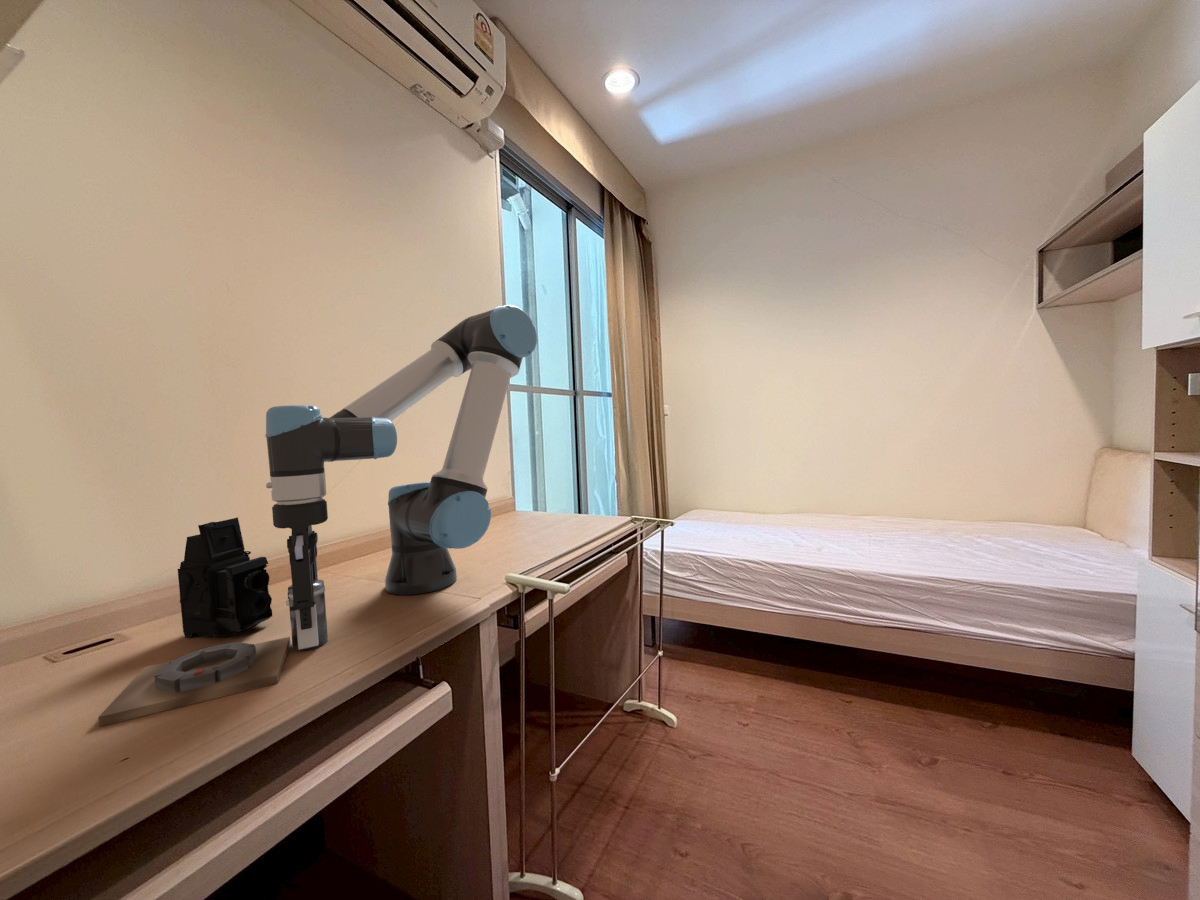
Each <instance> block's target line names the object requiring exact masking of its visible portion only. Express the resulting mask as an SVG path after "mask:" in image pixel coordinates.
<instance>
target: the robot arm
mask: <svg viewBox="0 0 1200 900" xmlns="http://www.w3.org/2000/svg"><path fill="white" fill-rule="evenodd" d="M537 337H538V336H537V331H536V327H535V326H534V323H533V320H532V319H531V317H530V316H529V314H527V312H526V311H524V309H521V307H518V306H515V305H513V304H512V305H511V304H508V305H507V304H506V305H499V306H495V307H494V308H493V309H490V310H487V311H485V312H481V313H478V314H475V315H472V316H469V317H466V318H464V319H463V320H462V321H460V322H459V323H458V324H456V325H455V326H454V327H452V328H451V329H449V330H448V331H446V333H445V334H443V335H442V336H441V337H439V338H438V339H436V340H435V341H433V342H432V343H431V344H430V350H428V351H426V352H425V353H424V354H422V355H421V356H419V357H417V358H416V359H415V360H413V361H412V362H410V363H409V364H407V365H406V366H404V367H403V368H401V369H400V370H398V371H396V373H393V374H392V375H391V376H389V377H388V378H386V379H385V380H384V381H381V382H380V383H379V384H377V385H376V386H375V387H373V388H372V389H370V390H368V391H367V392H365V393H364V394H363V395H361V396H360V397H358V398H357V399H355V400H354V401H352V402H351V403H350V404H348V405H346V406H344V407H343V408H342V409H341V410H339V411H337V412H336V413H334V414H333V415H330V417H323V416H322V415H323V414H321V410H320V408H319V407H318V406H315V405H305V404H303V405H302V404H301V405H300V404H298V405H277V406H276V405H275V406H271V407H270V408H268V409H267V411H266V414H265V434H264V435H265V436H264V437H265V439H266V445H267V454H268V466H269V467H268V468H269V479H270V482H266V484H265V487H266V489H271V491H270V493H271V500H272V502H276V503H275V504H273V506H271V509H272V510H271V511H272V524H273V527H274V528H276V529H291V535H289V536H288V538H287V539H286V548H287V552H288V553H289V565H290V574H291V576H290V577H291V585H292V590H293V607H290V609H289V612H290V611H294V610H295V611H296V624H297V637H298V650H300V649H304V648H309V647H313V646H318V645H319V641H318V627H317V614H316V604H315V601H314V590H313V580H319V577H318V567H317V557H318V546H317V544H318V540H319V539H318V537H319V536H318V532H315V531H316V530H313V526H316V525H320V524H323V523H325V522H327V521H328V519H329V518H328V517H329V514H328V513H329V512H328V503H327V500H326V499H324V497H325V496H326V495H327V483H326V471H325V470H326V469H325V462H327V463H328V462H329V463H331V462H332V463H333V462H339V461H340V462H342V461H357V460H358V461H359V460H372V459H373V460H377V459H381V458H388V457H390V456H392V455H393V454H394V453H395V451H396V450H397V449H396V448H397V445H398V433H397V429H396V427H395V424H394V423H393V421H394V420H395V419H396V418H398V417H399V416H400V415H402V414H404V412H406V411H407V410H409V409H410V408H411V407H413V406H414V405H415V404H417V403H418V402H419V401H421V400H422V399H423V398H425V397H426V396H427V395H429V394H430V393H432V392H433V391H434V390H435V389H437V388H438V387H439V386H441V385H442V384H444V383H445V382H446V381H447V380H449V379H450V378H452V377H453V378H458V377H460V376H462V375H463V374H464V373H466V372H468V371H470V372H469V377H468V380H467V383H466V386H465V389H464V393H463V397H462V400H461V404H460V407H459V410H458V413H457V417H456V421H455V424H454V426H453V430H452V433H451V434H452V435H451V438H450V441H449V444H448V447H447V451H446V455H445V458H444V461H443V465H442V468H441V470H438V472H436V473H434V474H432V476H431V479H430V481H424V482H423V481H422V482H416V483H415V482H414V483H410V484H401V485H395V486H393V487H391V488H390V489H389V490H388V496H387V497H388V501H387V506H388V513H389V514H388V515H389V518H388V519H389V529H390V543H391V556H390V561H389V564H388V568H387V571H386V575H385V580H384V585H385V586H384V587H385V591H386V593H389V594H393V595H397V596H398V595H400V596H401V595H402V596H404V595H405V596H408V595H420V594H425V593H430V592H434V591H438V590H439V591H440V590H441V589H444V588H446V587H448V586H451V585H453V584H454V583H455V582H456V581H457V578H458V577H457V568H456V565H455V563H454V561H453V558H452V557H451V553H450V551H449V549H460V550H461V549H466V548H470V547H471V546H473V545H475V544H476V543H477V542H479V541H480V540H481V539H482V538H483V537H484V536H485V534H486V532H487V531H488V529H489V526H490V523H491V519H492V510H491V507H490V506H489V505H490V504H489V501H488V500H487V498H486V496H487V493H488V487H487V485H486V483H485V482H484V476H485V472H486V469H487V464H488V463H489V462H488V461H489V458H490V454H491V451H492V446H493V442H494V439H495V435H496V431H497V429H498V424H499V421H500V420H499V419H500V416H501V413H502V409H503V404H504V402H505V398H506V394H507V390H508V387H509V383H510V379H511V378H513V377H515V376H517V375H518V374H519V372H520V370H521V365H522V360H523V358H526V357H528V356H530V355H531V354H532V353H533V352H534V351H535V349H536V347H537V342H538V340H537V339H538V338H537ZM314 604H315V605H314Z"/></svg>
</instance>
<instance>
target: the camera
mask: <svg viewBox="0 0 1200 900" xmlns="http://www.w3.org/2000/svg"><path fill="white" fill-rule="evenodd" d="M197 526H198V527H197V528H198V530H199V534H195V535H190V536H186V542H185V547H184V548H185V551H184V556H183V557H184V558H183V559H184V560H182V561H181V562H180V565H179V568H177V576H178V577H177V578H178V586H179V587H178V589H179V603H180V610H181V611H180V612H181V622H182V623H181V624H182V633H183V634H184V637H185V638H186V639H188V638H192V637H194V636H202V637H203V636H206V637H224V638H225V637H226V638H229V637H230V636H233V635H235V634H237V633H239V632H242V631H244V630H245V631H246V630H248V629H250V628H252V627H254V626H256V625H258V624H259V625H260V624H261V623H263V622H265V621H268V620H269V619H271V618H273V609H272V605H271V604H272V599H273V598H272V596H271V594H270V593H269V592H270V591H269V583H270V575H269V572H268V571H267V569H266V568H267V567H268V564H269V562H268V559H267V557H266V556H259V557H257V558H253V559H251V558H250V554H252V552H251V550H249V551H247V550H245V544H244V539H243V535H242V531H241V530H242V529H241V525H240V521H239V517H234V518H230V519H224V520H219V521H211V522H208V523H203V524H198V525H197Z"/></svg>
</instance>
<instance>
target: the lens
mask: <svg viewBox="0 0 1200 900" xmlns="http://www.w3.org/2000/svg"><path fill="white" fill-rule="evenodd" d="M313 590H314V601H315V604H316V614H317V627H318V641H319V645H318V646H313V647H309V648H304V649H300V650H298V637H297V624H296V611H295V610H294V611H290V607H293V590H292V584H291V585H289V586H288V587H287V599H286V600H285V607H289V619H290V621H289V622H290V633H291V634H290V635H291V646H292V650H293V651H294V652H306V651H310V650H314V649H317V648H319V647H322V646H324V645H325V644H327V643H328V641H329V634H328V623H327V607H326V595H325V594H326V593H325V592H326V586H325V581H324V580H323V579H318V580H313ZM315 604H314V605H315Z"/></svg>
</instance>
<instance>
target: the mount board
mask: <svg viewBox="0 0 1200 900" xmlns="http://www.w3.org/2000/svg"><path fill="white" fill-rule="evenodd" d="M290 647H291V637H290V636H287V637H282V638H279V639H273V640H268V641H263V642H258V643H246V642H241V641H239V642H238V641H237V642H234V643H233V642H227V643H223V644H217V645H214V646H209V647H204V648H202V649H201V650H197V649H196V650H195V651H192V652H189V653H187V654H185V655H182V656H180V657H178V658H176V659H173V660H170V661H167V662H163V663H157V664H153V665H148V666H144V668H143V669H141V671H140V672H139V673H137V675H136V676H135V677H134V678H133V679H132V680H131V681H130V683H129V684H127V686H126V687H125V688H124V689H123V690H122V691H121V692H120V693H119V695H117V696H116V697H115V698H114V699H113V701H112V702H111V703H110V704H109V705H108V706H107V707H106V708H105V709H104V710H103V712H102V713H101V714H100V715H99V716H98V719H97V720H98V726H99V727H104V726H107V725H112V724H116V723H120V722H123V721H125V722H126V721H129V720H133V719H136V718H139V717H140V718H141V717H144V716H148V715H152V714H157V713H161V712H164V711H165V712H166V711H168V710H172V709H178V708H181V707H186V706H189V705H194V704H198V703H201V702H206V701H209V700H215V699H218V698H222V697H227V696H230V695H234V694H238V693H242V692H247V691H251V690H256V689H258V688H259V689H260V688H263V687H267V686H272V685H275V684H278V683H279V681H280V677H281V674H282V672H283V668H284V665H285V661H286V659H287V656H288V654H289V653H288V652H289V650H290Z"/></svg>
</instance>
